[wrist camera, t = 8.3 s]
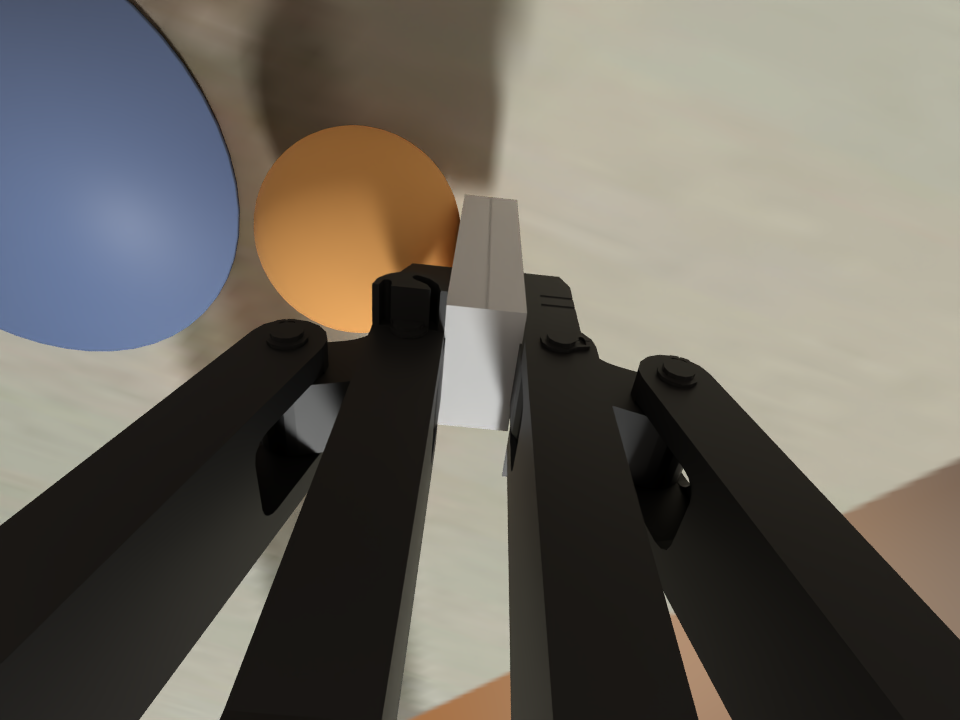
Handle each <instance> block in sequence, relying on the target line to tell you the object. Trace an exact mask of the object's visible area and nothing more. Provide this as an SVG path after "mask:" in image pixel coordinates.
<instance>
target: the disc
mask: <svg viewBox="0 0 960 720" xmlns="http://www.w3.org/2000/svg"><path fill="white" fill-rule="evenodd" d="M239 215H240V209H239V200H238V191H237V183H236V179H235V175H234V171H233V167H232V162H231V158H230V155H229V152H228V149H227V146H226V144H225V141H224V138H223V135H222V133H221V130H220V127H219V125H218V123H217V121H216V119H215V117H214V115H213V113H212V111H211V109H210V107H209V105H208V103H207V101H206V99H205V97H204V95H203V93H202V92H201V90H200V88H199V87H198V85H197V84H196V82H195V80H194V79H193V77H192V76H191V74H190V72H189V71H188V69H187V68H186V66H185V65H184V63H183V62H182V61H181V59H180V58H179V57H178V56H177V54H176V53H175V52H174V50H173V49H172V48H171V46H170V45H169V44H168V43H167V41H166V40H165V39H164V37H163V36H162V35H161V34H160V33H159V32H158V31H157V29H156V28H155V27H154V26H153V25H152V24H151V23H150V22H149V21H148V20H147V19H146V18H145V17H144V16H143V15H142V13H141V12H140V11H139V10H138V9H137V8H136V7H135V6H134V5H133V4H132V3H131V2H129V1H128V0H0V329H1V330H4V331H6V332H9V333H11V334H14V335H16V336H19V337H23V338H26V339H29V340H32V341H36V342H39V343H42V344H47V345H52V346H56V347H61V348H66V349H75V350H84V351H118V350H127V349H134V348H138V347H142V346H146V345H150V344H154V343H157V342H159V341H161V340H164V339H166V338H169V337H171V336H173V335H175V334H176V333H178V332H180V331H181V330H183V329H185V328H186V327H188V326H189V325H190V324H192V323H193V322H194V321H195V320H196V319H197V318H198V317H200V316H201V315H202V314H203V313H204V312H205V311H206V310H207V309H208V307H209V306H210V305H211V304H212V302H213V301H214V300H215V299H216V297H217V296H218V295H219V293H220V291H221V289H222V288H223V286H224V284H225V282H226V280H227V278H228V276H229V273H230V270H231V268H232V265H233V262H234V259H235V255H236V249H237V243H238V238H239Z"/></svg>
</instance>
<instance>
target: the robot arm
mask: <svg viewBox="0 0 960 720" xmlns="http://www.w3.org/2000/svg"><path fill="white" fill-rule="evenodd" d="M574 308H575V306H574V302H573V300H572V294H571V290H570V287H569V286H568V285H567V284H566V283H565V282H564V281H563V280H562V279H561V278H559V277H554V276H545V275H535V274H526V273H524V272H523V261H522V249H521V238H520V227H519V215H518V204H517V200H512V199H503V198H493V197H484V196H475V195H466V194H465V197H464V202H463V208H462V214H461V220H460V226H459V231H458V237H457V243H456V249H455V255H454V260H453V266H452V267H444V266H435V265H425V264H416V263H412V264H411V265H409V266H408V267H406V268H405V269H403V270H402V271H401V272H395V273H389V274H386V275H383V276H381V277H378V278H377V279H376V280H375V281H374V282H373V283H372V326H371V329H370V332H369V334H368V336H366V337H362V338H359V339H355V340H348V341H338V342H327V335H326V331H324V330H323V329H322V328H321V327H320V326H319V325H316V324H314V323H311V322H308V321H302V320H296V319H288V320H286V319H282V320H277V321H274V322H270V323H266V324H263V325H262V326H260V327H258V328H256V329H254V330H253V331H251V332H250V333H249V334H247V335H246V336H245V337H243V338H242V339H241V340H240V341H238V342H237V343H236V344H234V345H233V346H232V347H231V348H229V349H228V350H227V351H225V352H224V353H223V354H222V355H220V356H219V357H218V358H216V359H215V360H214V361H212V362H211V363H210V364H209V365H207V366H206V367H205V368H203V369H202V370H201V371H200V372H198V373H197V374H196V375H194V376H193V377H192V378H190V379H189V380H188V381H187V382H185V383H184V384H183V385H181V386H180V387H179V388H178V389H176V390H175V391H174V392H172V393H171V394H170V395H169V396H167V397H166V398H165V399H163V400H162V401H161V402H159V403H158V404H157V405H156V406H154V407H153V408H152V409H150V410H149V411H148V412H147V413H145V414H144V415H143V416H141V417H140V418H139V419H138V420H136V421H135V422H134V423H132V424H131V425H130V426H128V427H127V428H126V429H125V430H123V431H122V432H121V433H119V434H118V435H117V436H116V437H114V438H113V439H112V440H110V441H109V442H108V443H106V444H105V445H104V446H103V447H101V448H100V449H99V450H97V451H96V452H95V453H94V454H92V455H91V456H90V457H88V458H87V459H86V460H85V461H83V462H82V463H81V464H79V465H78V466H77V467H75V468H74V469H73V470H72V471H70V472H69V473H68V474H66V475H65V476H64V477H63V478H61V479H60V480H59V481H57V482H56V483H55V484H54V485H52V486H51V487H50V488H48V489H47V490H46V491H44V492H43V493H42V494H41V495H39V496H38V497H37V498H35V499H34V500H33V501H32V502H30V503H29V504H28V505H26V506H25V507H24V508H23V509H21V510H20V511H19V512H17V513H16V514H15V515H13V516H12V517H11V518H10V519H8V520H7V521H6V522H4V523H3V524H2V525H1V526H0V720H139V719H140V718H141V717H142V715H143V714H144V712H145V711H146V710H147V708H148V707H149V706H150V704H151V703H152V702H153V700H154V699H155V698H156V696H157V695H158V694H159V692H160V691H161V690H162V688H163V687H164V685H165V684H166V683H167V681H168V680H169V679H170V677H171V676H172V675H173V673H174V672H175V671H176V669H177V668H178V667H179V665H180V664H181V662H182V661H183V660H184V658H185V657H186V656H187V654H188V653H189V652H190V650H191V649H192V648H193V646H194V645H195V644H196V642H197V641H198V639H199V638H200V637H201V635H202V634H203V633H204V631H205V630H206V629H207V627H208V626H209V625H210V623H211V622H212V621H213V619H214V618H215V617H216V615H217V614H218V612H219V611H220V610H221V608H222V607H223V606H224V604H225V603H226V602H227V600H228V599H229V598H230V596H231V595H232V594H233V592H234V591H235V589H236V588H237V587H238V585H239V584H240V583H241V581H242V580H243V579H244V577H245V576H246V575H247V573H248V572H249V571H250V569H251V568H252V566H253V565H254V564H255V562H256V561H257V560H258V558H259V557H260V556H261V554H262V553H263V552H264V550H265V549H266V548H267V546H268V545H269V543H270V542H271V541H272V539H273V538H274V537H275V535H276V534H277V533H278V531H279V530H280V529H281V527H282V526H283V525H284V523H285V522H286V521H287V519H288V518H289V516H290V515H291V514H292V512H293V511H294V510H295V508H296V507H297V506H298V504H299V503H300V502H301V500H302V499H303V498H304V496H305V495H306V493H307V492H308V493H307V495H306V498H305V501H304V503H303V506H302V508H301V511H300V514H299V516H298V519H297V521H296V524H295V527H294V529H293V532H292V534H291V537H290V540H289V542H288V545H287V547H286V550H285V553H284V555H283V558H282V560H281V563H280V566H279V568H278V571H277V573H276V576H275V579H274V581H273V584H272V586H271V589H270V592H269V594H268V597H267V599H266V602H265V605H264V607H263V610H262V612H261V615H260V618H259V620H258V623H257V625H256V628H255V631H254V633H253V636H252V638H251V641H250V644H249V646H248V649H247V651H246V654H245V657H244V659H243V662H242V664H241V667H240V670H239V672H238V675H237V677H236V680H235V683H234V685H233V688H232V690H231V693H230V696H229V698H228V701H227V703H226V706H225V709H224V711H223V713H222V716H221V718H220V720H397V714H398V707H399V700H400V693H401V686H402V679H403V672H404V665H405V657H406V650H407V643H408V636H409V629H410V622H411V615H412V608H413V601H414V594H415V587H416V579H417V572H418V565H419V558H420V551H421V544H422V537H423V530H424V523H425V516H426V509H427V501H428V494H429V487H430V480H431V473H432V466H433V459H434V452H435V445H436V435H437V424H439V425H450V426H460V427H470V428H481V429H491V430H502V431H508V425H509V419H510V431H509V437H508V443H507V449H506V455H505V461H504V467H503V473H502V476H506V477H507V494H508V556H509V617H510V678H511V720H698V716H697V713H696V709H695V705H694V701H693V698H692V695H691V691H690V687H689V683H688V680H687V676H686V672H685V669H684V665H683V661H682V658H681V654H680V651H679V647H678V643H677V640H676V636H675V632H674V629H673V625H672V621H671V618H670V614H669V611H668V607H667V603H666V600H665V596H664V593H665V595H666V597H667V599H668V601H669V602H670V604H671V606H672V608H673V610H674V612H675V614H676V616H677V617H678V619H679V621H680V623H681V625H682V627H683V629H684V631H685V632H686V634H687V636H688V638H689V640H690V641H691V644H692V645H693V647H694V649H695V651H696V653H697V655H698V657H699V659H700V661H701V662H702V664H703V666H704V668H705V670H706V672H707V673H708V676H709V677H710V679H711V681H712V683H713V685H714V687H715V689H716V690H717V692H718V694H719V696H720V698H721V700H722V702H723V704H724V705H725V707H726V709H727V711H728V713H729V715H730V717H731V718H732V720H960V639H959V638H958V637H957V636H956V635H955V634H954V633H953V632H952V631H951V630H950V629H949V628H948V627H947V626H946V625H945V623H944V622H943V621H942V620H941V619H940V618H939V617H938V616H937V615H936V614H935V613H934V612H933V611H932V610H931V609H930V608H929V606H928V605H927V604H926V603H925V602H924V601H923V600H922V599H921V598H920V597H919V596H918V595H917V594H916V593H915V592H914V591H913V589H912V588H910V586H909V585H908V584H907V583H906V582H905V581H904V580H903V579H902V578H901V577H900V576H899V575H898V573H897V572H896V571H895V570H894V569H893V568H892V567H891V566H890V565H889V564H888V563H887V562H886V561H885V560H884V559H883V558H882V556H881V555H879V553H878V552H877V551H876V550H875V549H874V548H873V547H872V546H871V545H870V544H869V543H868V542H867V541H866V540H865V539H864V537H863V536H862V535H861V534H860V533H859V532H858V531H857V530H856V529H855V528H854V527H853V526H852V525H851V524H850V523H849V521H848V520H847V519H846V518H845V517H844V516H843V515H842V514H841V513H840V512H839V511H838V510H837V509H836V508H835V507H834V505H833V504H832V503H831V502H830V501H829V500H828V499H827V498H826V497H825V496H824V495H823V494H822V493H821V492H820V491H819V489H818V488H817V487H816V486H815V485H814V484H813V483H812V482H811V481H810V480H809V479H808V478H807V477H806V476H805V475H804V474H803V472H802V471H801V470H800V469H799V468H798V467H797V466H796V465H795V464H794V463H793V462H792V461H791V460H790V459H789V458H788V457H787V455H786V454H785V453H784V452H783V451H782V450H781V449H780V448H779V447H778V446H777V445H776V444H775V443H774V442H773V441H772V440H771V438H770V437H769V436H768V435H767V434H766V433H765V432H764V431H763V430H762V429H761V428H760V427H759V426H758V425H757V424H756V423H755V421H754V420H753V419H752V418H751V417H750V416H749V415H748V414H747V413H746V412H745V411H744V410H743V409H742V408H741V407H740V406H739V404H738V403H737V402H736V401H735V400H734V399H733V398H732V397H731V396H730V395H729V394H728V393H727V392H726V391H725V390H724V388H723V387H722V386H721V385H720V384H719V383H718V382H717V381H716V380H715V379H714V378H713V377H712V376H711V375H710V374H709V373H708V372H707V371H705V370H704V369H703V368H702V367H700V366H699V365H696V364H694V363H692V362H690V361H689V360H687V359H684V358H681V357H680V358H679V357H678V356H672V355H670V356H667V355H655V356H650V357H647V358H645V359H644V360H642V361H641V362H640V365H639V368H638V371H637V372H635V371H631V370H628V369H624V368H621V367H617V366H615V365H612V364H609V363H607V362H605V361H603V360H601V359H599V356H598V352H597V349H596V346H595V345H594V343H593V341H592V340H591V339H590V338H588V337H587V336H586V335H584V334H583V333H581V331H580V327H579V323H578V319H577V315H576V311H575V309H574ZM683 469H684V470H685V472H686V474H687V476H688V478H689V482H690V483H689V482H688V481H687V480H686V478H685V477H684V476H683V474H682V473H681V472H682V470H683ZM663 591H664V592H663Z"/></svg>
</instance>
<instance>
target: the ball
mask: <svg viewBox="0 0 960 720" xmlns="http://www.w3.org/2000/svg"><path fill="white" fill-rule="evenodd" d="M459 226H460V217H459V212H458V208H457V204H456V201H455V198H454V195H453V193H452V190H451V188H450V186H449V185H448V183H447V181H446V179H445V177H444V176H443V174H442V173H441V171H440V170H439V169H438V167H437V166H436V165H435V163H434V162H433V161H432V160H431V159H430V158H429V157H428V156H427V155H426V154H425V153H424V152H423V151H421V150H420V149H419V148H417V147H416V146H414V145H413V144H412V143H410V142H409V141H407V140H405V139H404V138H402V137H400V136H398V135H396V134H393V133H391V132H388V131H385V130H382V129H378V128H373V127H369V126H359V125H346V126H337V127H332V128H327V129H323V130H320V131H318V132H315V133H313V134H310V135H308V136H306V137H304V138H303V139H301V140H299V141H297V142H296V143H295V144H293V145H292V146H291V147H290V148H288V149H287V150H286V151H285V152H284V153H283V154H282V155H281V156H280V157H279V158H278V159H277V160H276V162H275V163H274V164H273V166H272V167H271V169H270V170H269V172H268V173H267V175H266V177H265V179H264V181H263V183H262V185H261V188H260V191H259V194H258V197H257V200H256V206H255V212H254V236H255V243H256V248H257V252H258V255H259V258H260V261H261V264H262V266H263V269H264V271H265V272H266V274H267V276H268V278H269V280H270V281H271V283H272V284H273V286H274V287H275V288H276V290H277V291H278V293H279V294H280V295H281V296H282V297H283V298H284V299H285V300H286V301H287V302H288V303H289V304H290V305H291V306H292V307H294V308H295V309H296V310H297V311H298V312H300V313H301V314H303V315H305V316H306V317H308V318H309V319H311V320H313V321H315V322H317V323H319V324H321V325H324V326H326V327H330V328H333V329H336V330H341V331H346V332H358V333H367V332H370V329H371V326H372V283H373V282H374V281H375V280H376V279H377V278H378V277H381V276H383V275H386V274H389V273H395V272H401V271H402V270H403V269H405V268H406V267H408V266H409V265H411V264H412V263H416V264H425V265H435V266H444V267H452V266H453V260H454V255H455V249H456V243H457V237H458V231H459Z"/></svg>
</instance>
